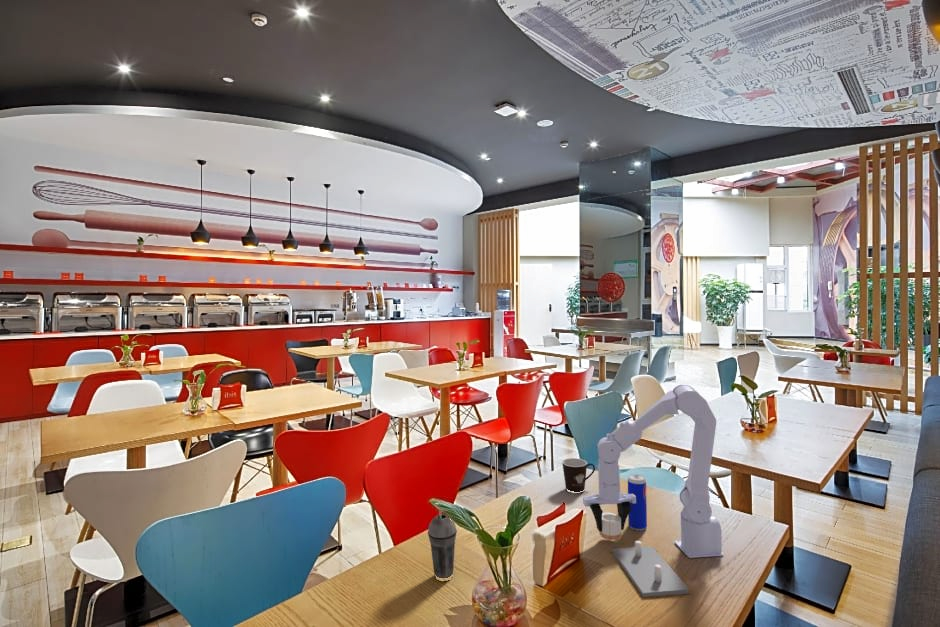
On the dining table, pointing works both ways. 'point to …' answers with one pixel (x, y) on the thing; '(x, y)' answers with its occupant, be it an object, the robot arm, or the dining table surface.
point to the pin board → (649, 571)
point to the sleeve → (611, 526)
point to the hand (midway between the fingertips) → (610, 529)
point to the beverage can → (637, 502)
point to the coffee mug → (575, 473)
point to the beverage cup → (442, 545)
